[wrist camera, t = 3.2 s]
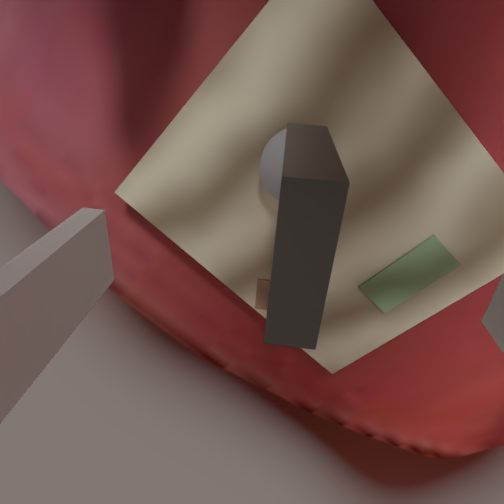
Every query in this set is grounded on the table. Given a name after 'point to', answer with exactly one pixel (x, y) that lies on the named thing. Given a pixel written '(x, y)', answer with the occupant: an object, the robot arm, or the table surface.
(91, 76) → the table surface
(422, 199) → the dial board
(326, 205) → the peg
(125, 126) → the table surface
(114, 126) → the table surface
